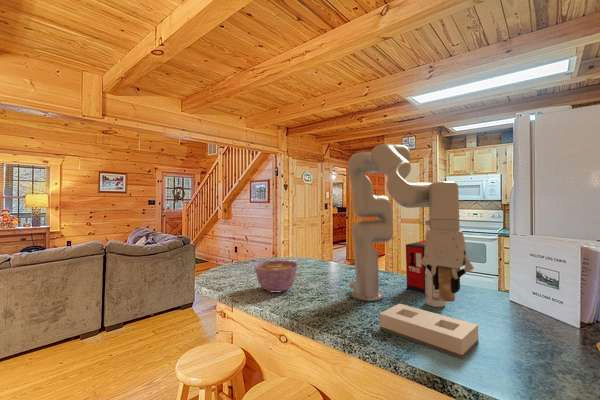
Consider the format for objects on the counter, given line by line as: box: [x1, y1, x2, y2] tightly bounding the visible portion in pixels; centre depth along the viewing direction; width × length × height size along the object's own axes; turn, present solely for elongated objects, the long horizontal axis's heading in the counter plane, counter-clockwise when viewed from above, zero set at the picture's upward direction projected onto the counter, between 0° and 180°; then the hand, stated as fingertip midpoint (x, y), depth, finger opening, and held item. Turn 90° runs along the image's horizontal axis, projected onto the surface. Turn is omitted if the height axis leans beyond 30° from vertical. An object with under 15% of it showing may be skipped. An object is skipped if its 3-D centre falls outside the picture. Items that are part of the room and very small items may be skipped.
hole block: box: [379, 303, 479, 360], centre depth 87 cm, size 12×24×5 cm, turn 42°
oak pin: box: [438, 266, 456, 303], centre depth 82 cm, size 4×4×9 cm
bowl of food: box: [254, 260, 299, 292], centre depth 135 cm, size 20×20×12 cm
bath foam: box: [424, 267, 447, 308], centre depth 112 cm, size 7×7×20 cm
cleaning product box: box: [405, 240, 426, 294], centre depth 133 cm, size 16×9×20 cm, turn 127°
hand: (446, 289), depth 82 cm, fingers closed on oak pin, 4 cm apart
